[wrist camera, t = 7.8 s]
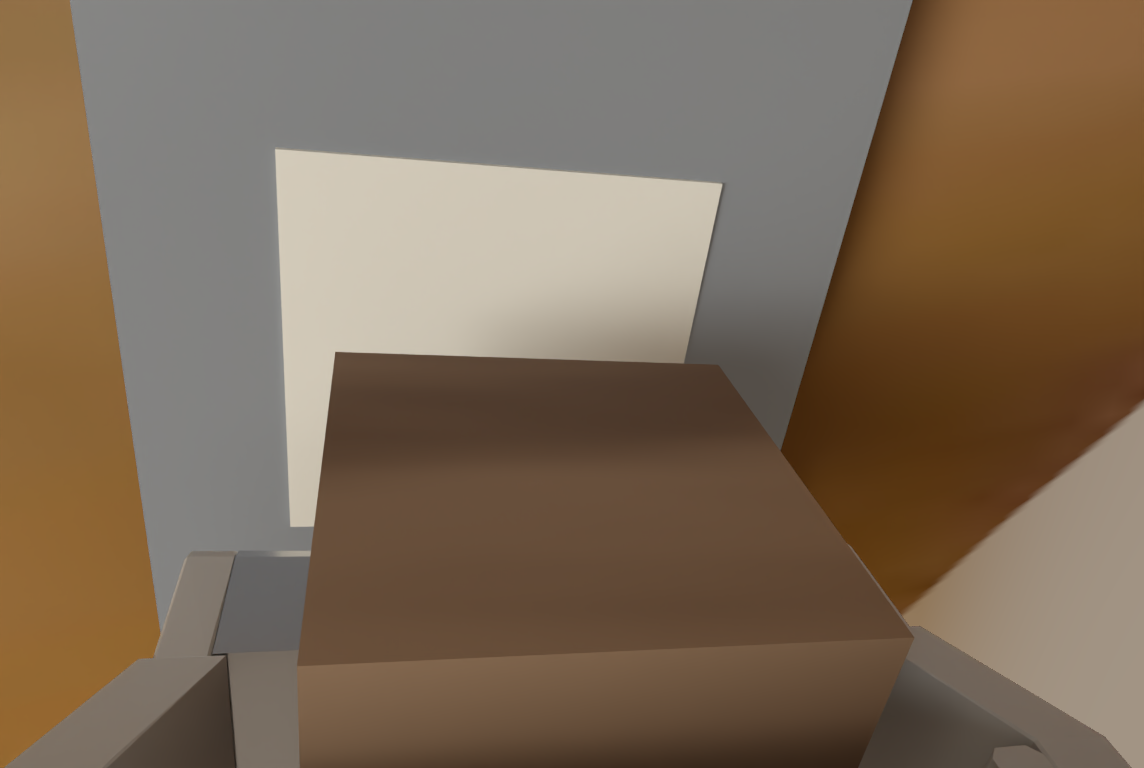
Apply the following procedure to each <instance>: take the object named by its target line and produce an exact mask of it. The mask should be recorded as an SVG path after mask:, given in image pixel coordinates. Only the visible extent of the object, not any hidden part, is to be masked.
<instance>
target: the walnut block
mask: <svg viewBox="0 0 1144 768" xmlns="http://www.w3.org/2000/svg"><path fill="white" fill-rule="evenodd" d="M914 638H915V637H914V636H913V635H912V633H911V632H910V631H909V629H908V628H907V626H906V625H905V624H904V622H903V621H902V619H901V618H900V617H899V615H898V614H897V612H896V611H895V610H894V608H893V607H892V606H891V604H890V603H889V601H888V600H887V599H886V597H885V596H884V594H883V593H882V592H881V590H880V589H879V587H878V586H877V585H876V583H875V582H874V581H873V579H872V578H871V576H870V575H869V574H868V572H867V571H866V569H865V568H864V567H863V565H862V564H861V562H860V561H859V560H858V558H857V557H856V555H855V554H854V553H853V551H852V550H851V549H850V547H849V546H848V544H847V543H846V542H845V540H844V539H843V537H842V536H841V535H840V533H839V532H838V530H837V529H836V528H835V526H834V525H833V524H832V522H831V521H830V519H829V518H828V517H827V515H826V514H825V512H824V511H823V510H822V508H821V507H820V505H819V504H818V503H817V501H816V500H815V499H814V497H813V496H812V494H811V493H810V492H809V490H808V489H807V487H806V486H805V485H804V483H803V482H802V480H801V479H800V478H799V476H798V475H797V473H796V472H795V471H794V469H793V468H792V467H791V465H790V464H789V462H788V461H787V460H786V458H785V457H784V455H783V454H782V453H781V451H780V450H779V448H778V447H777V446H776V444H775V443H774V442H773V440H772V439H771V437H770V436H769V435H768V433H767V432H766V430H765V429H764V428H763V426H762V425H761V423H760V422H759V421H758V419H757V418H756V417H755V415H754V414H753V412H752V411H751V410H750V408H749V407H748V405H747V404H746V403H745V401H744V400H743V398H742V397H741V396H740V394H739V393H738V391H737V390H736V389H735V387H734V386H733V385H732V383H731V382H730V380H729V379H728V378H727V376H726V375H725V373H724V372H723V371H722V369H721V368H720V366H719V365H712V364H682V363H652V362H623V361H593V360H563V359H534V358H504V357H475V356H445V355H415V354H386V353H356V352H335V358H334V366H333V375H332V383H331V391H330V399H329V407H328V416H327V424H326V432H325V440H324V448H323V457H322V465H321V473H320V481H319V489H318V497H317V506H316V514H315V522H314V530H313V538H312V547H311V555H310V563H309V571H308V579H307V588H306V596H305V604H304V612H303V620H302V629H301V637H300V645H299V653H298V661H297V688H298V724H299V760H300V768H858V767H859V765H860V762H861V760H862V758H863V755H864V753H865V751H866V748H867V746H868V744H869V742H870V739H871V737H872V735H873V732H874V730H875V728H876V725H877V723H878V721H879V719H880V716H881V714H882V712H883V709H884V707H885V705H886V702H887V700H888V698H889V695H890V693H891V691H892V689H893V686H894V684H895V682H896V679H897V677H898V675H899V672H900V670H901V668H902V665H903V663H904V661H905V659H906V656H907V654H908V652H909V649H910V647H911V645H912V642H913V640H914Z"/></svg>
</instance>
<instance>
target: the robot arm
mask: <svg viewBox="0 0 1144 768" xmlns="http://www.w3.org/2000/svg"><path fill="white" fill-rule="evenodd" d="M848 546H849V547H850V549H851V550H852V551H853V553H854V554H855V555H856V557H857V558H858V560H859V561H860V562H861V564H862V565H863V567H864V568H865V569H866V571H867V572H868V574H869V575H870V576H871V578H872V579H873V581H874V582H875V583H876V585H877V586H878V587H879V589H880V590H881V592H882V593H883V594H884V596H885V597H886V599H887V600H888V601H889V603H890V604H891V606H892V607H893V608H894V610H895V611H896V612H897V614H898V615H899V617H900V618H901V619H902V621H903V622H904V624H905V625H906V626H907V628H908V629H909V631H910V632H911V633H912V635H913V636H914V637H915V638H914V640H913V642H912V645H911V647H910V649H909V652H908V654H907V656H906V659H905V661H904V663H903V665H902V668H901V670H900V672H899V675H898V677H897V679H896V682H895V684H894V686H893V689H892V691H891V693H890V695H889V698H888V700H887V702H886V705H885V707H884V709H883V712H882V714H881V716H880V719H879V721H878V723H877V725H876V728H875V730H874V732H873V735H872V737H871V739H870V742H869V744H868V746H867V748H866V751H865V753H864V755H863V758H862V760H861V762H860V765H859V767H858V768H1131V767H1130V765H1129V764H1128V763H1127V762H1126V761H1125V760H1124V759H1123V758H1122V756H1121V755H1120V754H1119V753H1118V751H1117V750H1116V749H1115V748H1114V747H1113V746H1112V745H1111V743H1110V742H1109V741H1108V740H1107V739H1106V738H1105V737H1104V736H1103V735H1101V734H1099V733H1098V732H1096V731H1094V730H1093V729H1091V728H1089V727H1088V726H1086V725H1084V724H1083V723H1081V722H1079V721H1078V720H1076V719H1074V718H1073V717H1071V716H1069V715H1067V714H1066V713H1064V712H1063V711H1061V710H1059V709H1058V708H1056V707H1054V706H1053V705H1051V704H1049V703H1048V702H1046V701H1044V700H1043V699H1041V698H1039V697H1038V696H1035V695H1034V694H1033V693H1031V692H1029V691H1028V690H1026V689H1024V688H1023V687H1021V686H1019V685H1018V684H1016V683H1014V682H1013V681H1011V680H1009V679H1007V678H1006V677H1004V676H1003V675H1001V674H999V673H997V672H996V671H994V670H993V669H991V668H989V667H988V666H986V665H984V664H983V663H981V662H979V661H977V660H976V659H974V658H972V657H971V656H969V655H967V654H966V653H964V652H962V651H961V650H959V649H957V648H956V647H954V646H952V645H951V644H949V643H947V642H945V641H944V640H942V639H941V638H939V637H937V636H935V635H934V634H932V633H931V632H929V631H927V630H926V629H924V628H922V627H920V626H912V627H910V626H909V625H908V624H907V622H906V621H905V620H904V618H903V617H902V615H901V614H900V613H899V611H898V610H897V609H896V607H895V606H894V604H893V603H892V602H891V600H890V599H889V598H888V596H887V595H886V593H885V592H884V591H883V589H882V588H881V587H880V585H879V584H878V582H877V581H876V580H875V578H874V577H873V576H872V574H871V573H870V572H869V570H868V569H867V567H866V566H865V565H864V563H863V562H862V561H861V559H860V558H859V556H858V555H857V554H856V552H855V551H854V550H853V548H852V547H851V546H850V545H849V544H848ZM310 555H311V551H242V550H239V551H238V552H236V551H191V552H190V554H189V555H188V556H187V557H186V559H185V560H184V563H183V566H182V569H181V572H180V575H179V578H178V581H177V585H176V588H175V591H174V594H173V597H172V600H171V603H170V607H169V610H168V613H167V616H166V619H165V622H164V625H163V628H162V632H161V635H160V638H159V641H158V644H157V647H156V650H155V654H154V657H153V658H150V659H138V660H136V661H135V662H134V663H133V664H132V665H130V666H129V667H128V668H127V669H125V670H124V671H123V672H122V673H120V674H119V675H118V676H117V677H115V678H114V679H113V680H112V681H111V682H109V683H108V684H107V685H106V686H104V687H103V688H102V689H101V690H99V691H98V692H97V693H96V694H94V695H93V696H92V697H91V698H90V699H88V700H87V701H86V702H85V703H83V704H82V705H81V706H80V707H78V708H77V709H76V710H75V711H73V712H72V713H71V714H70V715H69V716H67V717H66V718H65V719H64V720H62V721H61V722H60V723H59V724H57V725H56V726H55V727H54V728H52V729H51V730H50V731H49V732H47V733H46V734H45V735H44V736H43V737H41V738H40V739H39V740H38V741H36V742H35V743H34V744H33V745H31V746H30V747H29V748H28V749H26V750H25V751H24V752H23V753H22V754H20V755H19V756H18V757H17V758H15V759H14V760H13V761H12V762H10V763H9V764H8V765H7V766H5V767H4V768H300V760H299V724H298V688H297V661H298V653H299V645H300V637H301V629H302V620H303V612H304V604H305V596H306V588H307V579H308V571H309V563H310Z"/></svg>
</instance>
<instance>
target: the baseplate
mask: <svg viewBox="0 0 1144 768" xmlns="http://www.w3.org/2000/svg"><path fill="white" fill-rule="evenodd" d="M912 1H913V0H70V5H71V12H72V19H73V26H74V32H75V39H76V46H77V53H78V60H79V67H80V74H81V81H82V88H83V95H84V102H85V109H86V116H87V123H88V130H89V137H90V144H91V151H92V158H93V165H94V172H95V179H96V186H97V193H98V200H99V207H100V214H101V221H102V228H103V235H104V241H105V248H106V255H107V262H108V269H109V276H110V283H111V290H112V297H113V304H114V311H115V318H116V325H117V332H118V339H119V346H120V353H121V360H122V367H123V374H124V381H125V388H126V395H127V402H128V409H129V416H130V423H131V430H132V437H133V444H134V450H135V457H136V464H137V471H138V478H139V485H140V492H141V499H142V506H143V513H144V520H145V527H146V534H147V541H148V548H149V555H150V562H151V569H152V576H153V583H154V590H155V597H156V604H157V611H158V618H159V625H160V632H162V628H163V625H164V622H165V619H166V616H167V613H168V610H169V607H170V603H171V600H172V597H173V594H174V591H175V588H176V585H177V581H178V578H179V575H180V572H181V569H182V566H183V563H184V560H185V559H186V557H187V556H188V555H189V554H190V552H191V551H236V552H238V551H239V550H242V551H311V547H312V538H313V530H314V522H315V514H316V506H317V497H318V489H319V481H320V473H321V465H322V457H323V448H324V440H325V432H326V424H327V416H328V407H329V399H330V391H331V383H332V375H333V366H334V358H335V352H356V353H386V354H415V355H445V356H475V357H504V358H534V359H563V360H593V361H623V362H652V363H682V364H712V365H719V366H720V368H721V369H722V371H723V372H724V373H725V375H726V376H727V378H728V379H729V380H730V382H731V383H732V385H733V386H734V387H735V389H736V390H737V391H738V393H739V394H740V396H741V397H742V398H743V400H744V401H745V403H746V404H747V405H748V407H749V408H750V410H751V411H752V412H753V414H754V415H755V417H756V418H757V419H758V421H759V422H760V423H761V425H762V426H763V428H764V429H765V430H766V432H767V433H768V435H769V436H770V437H771V439H772V440H773V442H774V443H775V444H776V446H777V447H778V448H779V450H780V451H781V447H782V444H783V441H784V437H785V434H786V430H787V427H788V424H789V420H790V417H791V413H792V410H793V407H794V403H795V400H796V396H797V393H798V389H799V386H800V383H801V379H802V376H803V372H804V369H805V366H806V362H807V359H808V355H809V352H810V349H811V345H812V342H813V338H814V335H815V332H816V328H817V325H818V321H819V318H820V314H821V311H822V308H823V304H824V301H825V297H826V294H827V291H828V287H829V284H830V280H831V277H832V274H833V270H834V267H835V263H836V260H837V257H838V253H839V250H840V246H841V243H842V240H843V236H844V233H845V229H846V226H847V222H848V219H849V216H850V212H851V209H852V205H853V202H854V199H855V195H856V192H857V188H858V185H859V182H860V178H861V175H862V171H863V168H864V165H865V161H866V158H867V154H868V151H869V147H870V144H871V141H872V137H873V134H874V130H875V127H876V124H877V120H878V117H879V113H880V110H881V107H882V103H883V100H884V96H885V93H886V90H887V86H888V83H889V79H890V76H891V73H892V69H893V66H894V62H895V59H896V55H897V52H898V49H899V45H900V42H901V38H902V35H903V32H904V28H905V25H906V21H907V18H908V15H909V11H910V8H911V4H912Z"/></svg>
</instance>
